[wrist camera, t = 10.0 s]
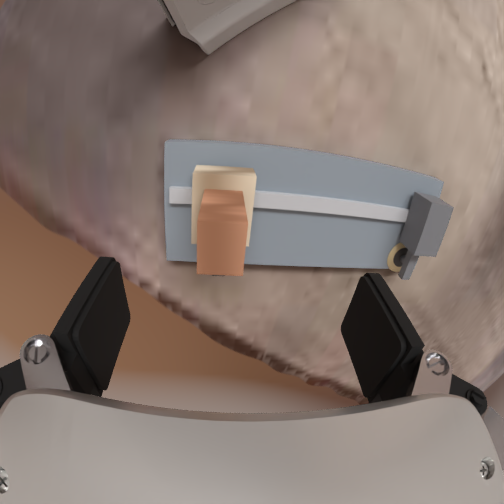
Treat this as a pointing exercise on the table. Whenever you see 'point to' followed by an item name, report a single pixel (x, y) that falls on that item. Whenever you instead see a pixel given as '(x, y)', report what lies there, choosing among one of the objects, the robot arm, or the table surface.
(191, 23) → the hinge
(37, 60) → the table surface
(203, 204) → the block
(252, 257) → the gauge board
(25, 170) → the table surface
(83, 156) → the table surface
